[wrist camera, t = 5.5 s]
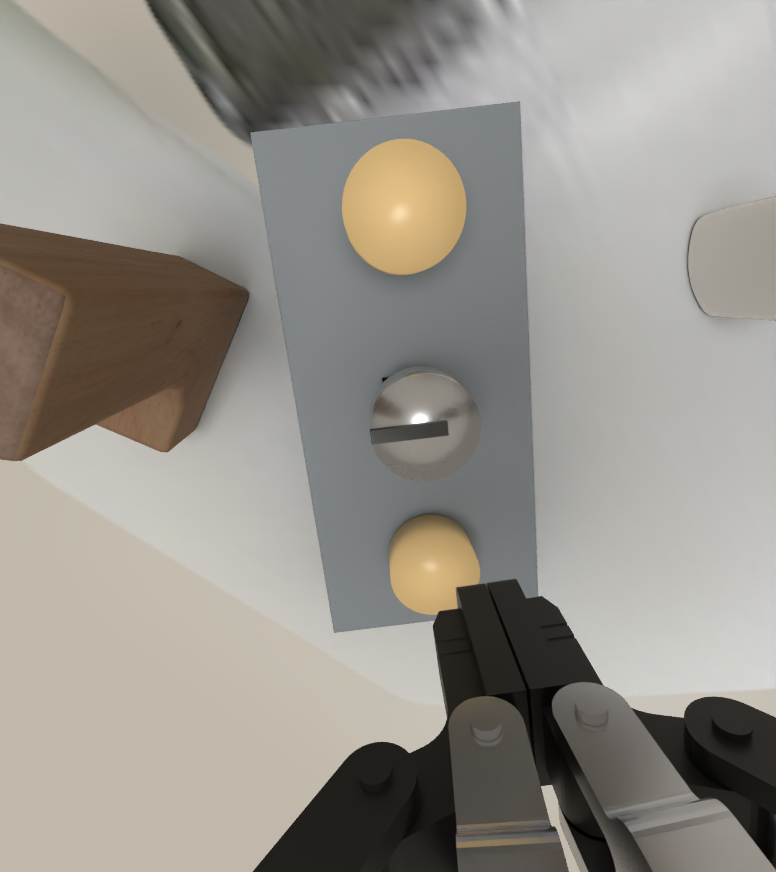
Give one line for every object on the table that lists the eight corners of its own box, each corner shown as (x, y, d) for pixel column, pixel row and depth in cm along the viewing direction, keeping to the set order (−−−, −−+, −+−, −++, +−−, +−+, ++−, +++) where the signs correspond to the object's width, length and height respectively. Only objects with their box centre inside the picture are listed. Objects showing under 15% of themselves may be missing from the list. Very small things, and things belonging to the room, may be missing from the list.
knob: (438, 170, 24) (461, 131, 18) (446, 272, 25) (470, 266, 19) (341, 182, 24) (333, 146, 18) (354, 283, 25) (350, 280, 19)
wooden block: (194, 433, 30) (-35, 623, 13) (120, 401, 30) (-227, 556, 12) (252, 291, 28) (71, 292, 11) (174, 253, 28) (-153, 189, 10)
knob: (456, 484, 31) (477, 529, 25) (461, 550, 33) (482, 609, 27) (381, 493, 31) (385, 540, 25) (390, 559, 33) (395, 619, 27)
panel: (497, 128, 26) (520, 101, 23) (518, 571, 34) (538, 607, 30) (267, 155, 26) (250, 132, 23) (337, 593, 34) (334, 632, 30)
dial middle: (452, 350, 27) (478, 368, 20) (458, 435, 28) (485, 476, 22) (364, 361, 26) (363, 382, 20) (374, 445, 28) (377, 489, 22)
